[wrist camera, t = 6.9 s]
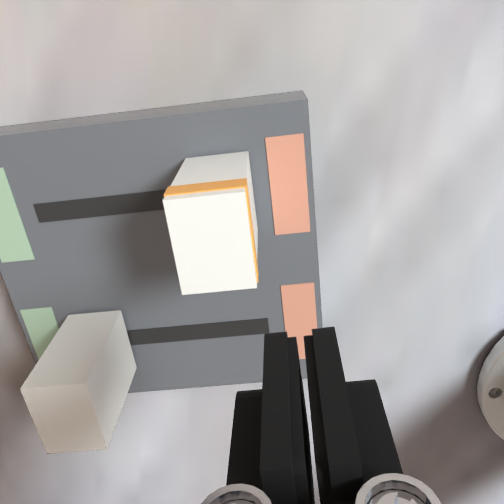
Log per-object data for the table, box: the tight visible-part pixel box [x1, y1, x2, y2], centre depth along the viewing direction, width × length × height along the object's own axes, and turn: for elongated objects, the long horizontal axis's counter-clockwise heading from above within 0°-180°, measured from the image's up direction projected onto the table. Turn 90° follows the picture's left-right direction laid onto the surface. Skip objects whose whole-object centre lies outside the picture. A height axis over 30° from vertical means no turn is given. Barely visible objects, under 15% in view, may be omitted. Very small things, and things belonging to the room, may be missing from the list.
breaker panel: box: [0, 91, 323, 454], centre depth 24 cm, size 17×16×9 cm
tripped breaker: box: [163, 151, 258, 295], centre depth 21 cm, size 3×4×6 cm
